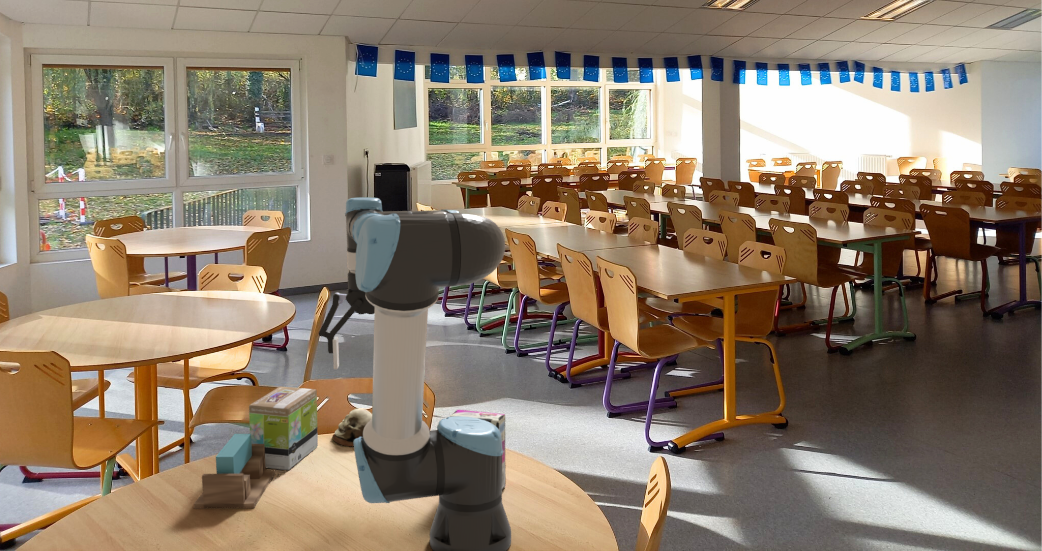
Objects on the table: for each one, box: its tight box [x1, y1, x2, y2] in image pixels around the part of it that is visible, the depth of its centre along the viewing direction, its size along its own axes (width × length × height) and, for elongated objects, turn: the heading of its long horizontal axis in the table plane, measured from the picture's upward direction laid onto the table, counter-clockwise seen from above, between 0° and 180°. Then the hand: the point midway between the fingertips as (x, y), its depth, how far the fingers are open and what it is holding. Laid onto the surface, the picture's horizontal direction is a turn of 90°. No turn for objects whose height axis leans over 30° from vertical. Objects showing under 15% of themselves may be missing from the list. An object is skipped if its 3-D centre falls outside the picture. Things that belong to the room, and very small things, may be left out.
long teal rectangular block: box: [215, 433, 252, 474], centre depth 180 cm, size 13×4×5 cm, turn 2°
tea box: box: [248, 386, 319, 471], centre depth 198 cm, size 15×10×15 cm, turn 168°
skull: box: [331, 407, 372, 447], centre depth 211 cm, size 12×10×10 cm
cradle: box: [193, 444, 276, 510], centre depth 180 cm, size 17×12×7 cm
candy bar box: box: [449, 409, 507, 491], centre depth 182 cm, size 11×5×16 cm, turn 73°
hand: (368, 367), depth 185 cm, fingers open, 13 cm apart
